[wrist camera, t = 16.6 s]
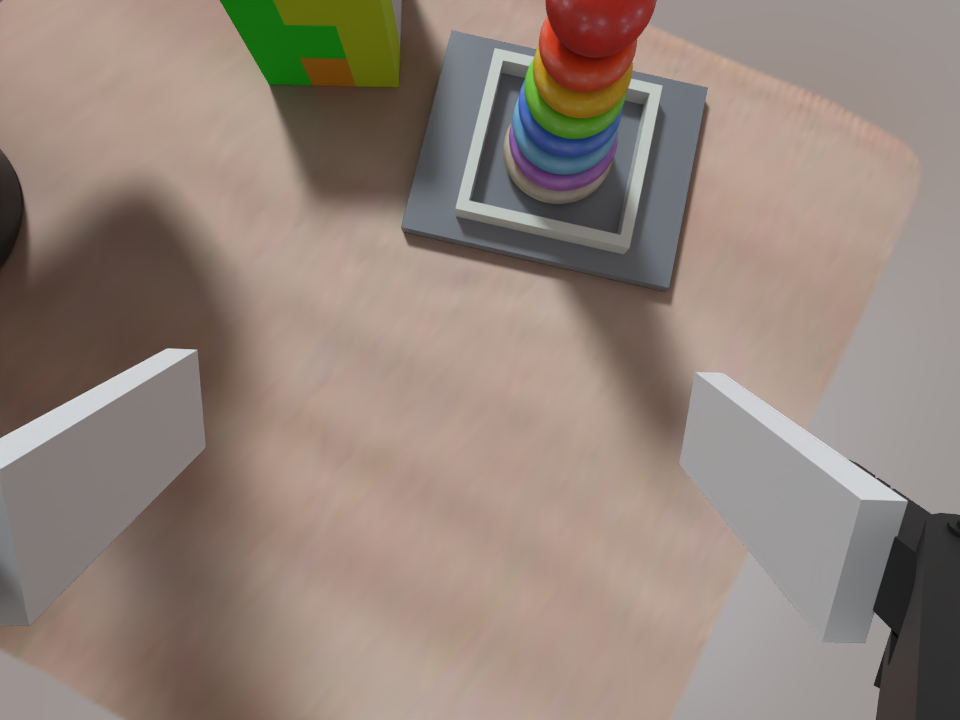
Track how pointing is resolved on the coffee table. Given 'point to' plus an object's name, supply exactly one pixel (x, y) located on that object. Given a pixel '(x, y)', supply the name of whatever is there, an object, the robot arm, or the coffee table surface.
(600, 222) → the board
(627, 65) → the stacking toy
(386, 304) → the coffee table surface
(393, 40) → the puzzle toy
